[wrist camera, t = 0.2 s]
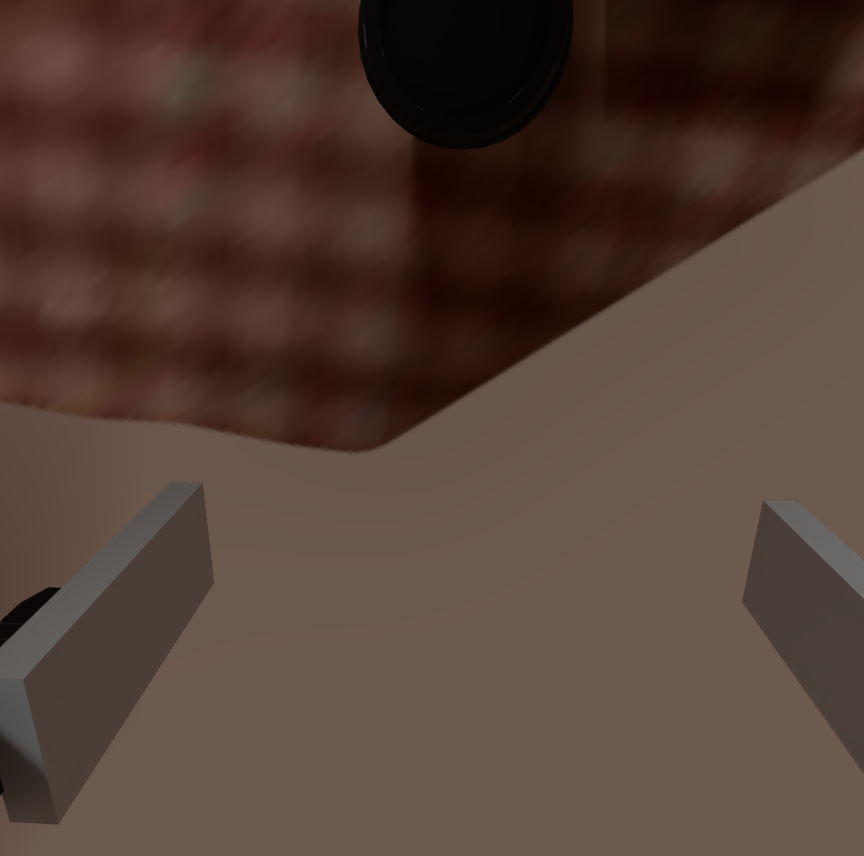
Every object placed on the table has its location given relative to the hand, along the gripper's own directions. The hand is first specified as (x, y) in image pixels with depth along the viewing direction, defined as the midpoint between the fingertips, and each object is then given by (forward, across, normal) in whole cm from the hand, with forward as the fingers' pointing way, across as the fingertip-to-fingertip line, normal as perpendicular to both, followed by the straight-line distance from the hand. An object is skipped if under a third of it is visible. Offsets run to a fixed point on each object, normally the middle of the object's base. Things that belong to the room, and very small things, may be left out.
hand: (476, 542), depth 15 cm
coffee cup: (+28, -1, +14) cm, 31 cm away
